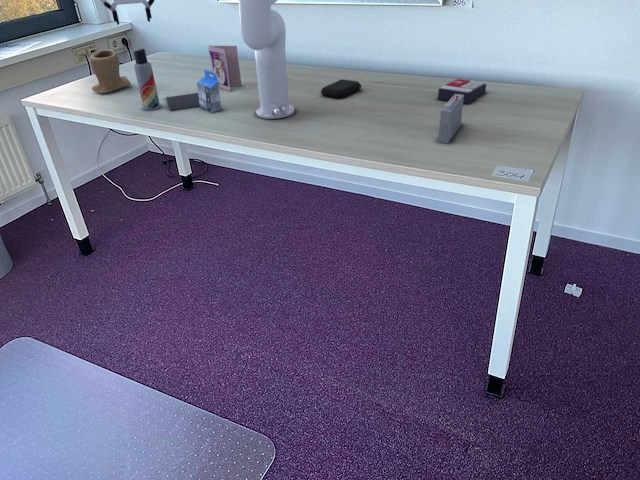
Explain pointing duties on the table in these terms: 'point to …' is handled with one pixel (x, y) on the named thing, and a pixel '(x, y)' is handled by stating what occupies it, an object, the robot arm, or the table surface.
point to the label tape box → (209, 92)
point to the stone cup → (107, 71)
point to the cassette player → (450, 118)
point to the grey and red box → (462, 90)
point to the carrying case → (341, 88)
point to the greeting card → (225, 65)
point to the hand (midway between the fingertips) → (133, 22)
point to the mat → (183, 101)
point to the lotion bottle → (146, 81)
